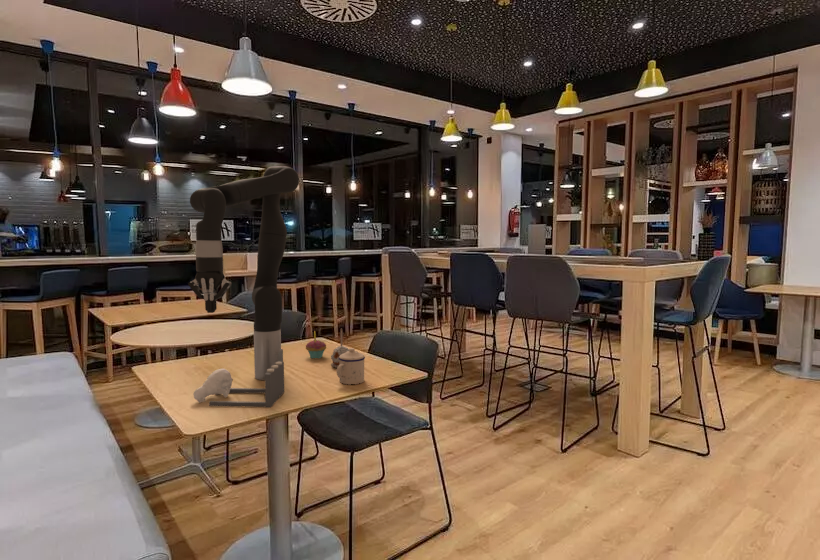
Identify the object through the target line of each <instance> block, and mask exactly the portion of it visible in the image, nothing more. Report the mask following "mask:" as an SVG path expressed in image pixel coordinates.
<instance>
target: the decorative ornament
mask: <svg viewBox="0 0 820 560" xmlns="http://www.w3.org/2000/svg"><path fill="white" fill-rule="evenodd" d="M349 349H350V348H348V347H346V346H344V345H343V328H340V346H337V347H335V348H334V349H333V351H332V354H331V355H330V359H331V362H332V363H330V366H331V367H333V368H337V367H338V366H339V356H340V355H341V354H344V353H346V352H347V351H349Z"/></svg>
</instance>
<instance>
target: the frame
mask: <svg viewBox="0 0 820 560" xmlns="http://www.w3.org/2000/svg"><path fill="white" fill-rule="evenodd" d="M271 368H272V369H267V373H266V374H265V380H264V388H261V387H260V388H255V387H254V388H253V387H250V388H249V387H248V388H247V387H231V389H230V392H229V394H230V393H231V394H232V393H233V394H235V393H236V394H237V393H238V394H264V395H265V396H264V399H265V400H264V401H251V400H250V401H244V400H243V401H242V400H241V401H239V400H238V401H237V400H210V401H209V402H208V404H209V405H208V406H209V407H242V406H245V408H246V407H248V408H249V407H253V408H255V407H256V408H257V407H258V408H262V407H263V408H267V409H269V408H272V407H273V405H274V404H276V402H277V401H278V400H279V399H280V397H281V396H283V394H284V393H285V362H284V361H283V362H275V365H272V366H271Z"/></svg>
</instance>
